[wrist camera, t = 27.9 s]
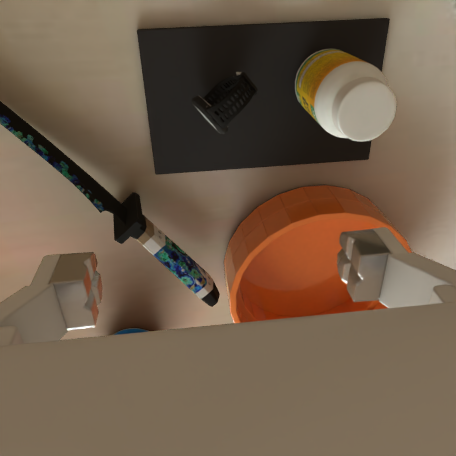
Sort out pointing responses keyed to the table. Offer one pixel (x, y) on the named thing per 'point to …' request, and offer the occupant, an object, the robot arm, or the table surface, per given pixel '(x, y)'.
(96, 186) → the knife
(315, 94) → the supplement bottle
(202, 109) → the smartwatch
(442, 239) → the table surface
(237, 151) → the mat
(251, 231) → the bowl
